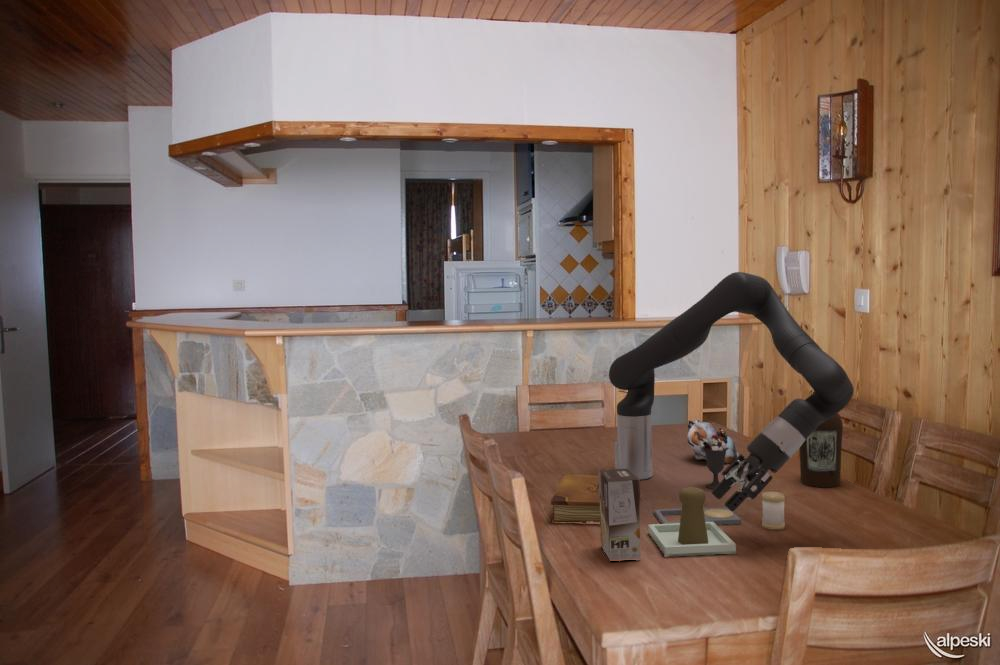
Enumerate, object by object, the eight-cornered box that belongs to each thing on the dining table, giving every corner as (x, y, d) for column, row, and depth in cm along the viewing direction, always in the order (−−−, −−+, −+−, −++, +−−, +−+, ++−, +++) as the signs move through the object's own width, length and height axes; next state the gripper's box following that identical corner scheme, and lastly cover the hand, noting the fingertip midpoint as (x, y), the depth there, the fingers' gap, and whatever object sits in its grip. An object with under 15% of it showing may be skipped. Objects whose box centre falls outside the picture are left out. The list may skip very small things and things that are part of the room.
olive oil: (796, 476, 206) (796, 383, 204) (840, 478, 203) (840, 384, 201) (799, 487, 196) (799, 389, 194) (845, 489, 193) (845, 390, 191)
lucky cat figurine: (743, 464, 220) (725, 425, 216) (703, 480, 223) (684, 441, 219) (733, 439, 234) (715, 401, 230) (695, 453, 237) (677, 417, 233)
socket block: (665, 528, 168) (664, 522, 168) (653, 514, 178) (653, 509, 178) (742, 524, 169) (741, 519, 169) (726, 510, 179) (726, 505, 179)
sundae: (731, 484, 201) (730, 427, 200) (727, 491, 195) (726, 432, 194) (705, 482, 204) (704, 425, 203) (700, 488, 198) (699, 430, 196)
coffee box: (641, 560, 150) (640, 479, 149) (609, 562, 149) (607, 481, 148) (629, 544, 159) (628, 467, 158) (599, 546, 158) (597, 469, 157)
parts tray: (648, 533, 165) (648, 524, 165) (713, 530, 166) (713, 521, 165) (665, 557, 151) (664, 547, 151) (735, 554, 152) (735, 544, 151)
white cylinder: (758, 526, 167) (757, 494, 167) (768, 521, 170) (768, 490, 170) (778, 531, 164) (778, 498, 163) (788, 526, 167) (788, 494, 167)
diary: (635, 529, 170) (635, 503, 170) (551, 526, 174) (550, 501, 174) (640, 498, 192) (639, 475, 192) (565, 496, 197) (565, 473, 196)
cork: (709, 547, 154) (708, 492, 153) (678, 546, 155) (677, 492, 155) (707, 536, 160) (706, 484, 159) (677, 536, 161) (676, 484, 160)
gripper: (750, 425, 164) (698, 481, 165) (776, 439, 150) (719, 499, 150) (775, 449, 165) (723, 504, 165) (804, 464, 151) (746, 525, 151)
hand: (721, 502), depth 158 cm, fingers open, 8 cm apart
